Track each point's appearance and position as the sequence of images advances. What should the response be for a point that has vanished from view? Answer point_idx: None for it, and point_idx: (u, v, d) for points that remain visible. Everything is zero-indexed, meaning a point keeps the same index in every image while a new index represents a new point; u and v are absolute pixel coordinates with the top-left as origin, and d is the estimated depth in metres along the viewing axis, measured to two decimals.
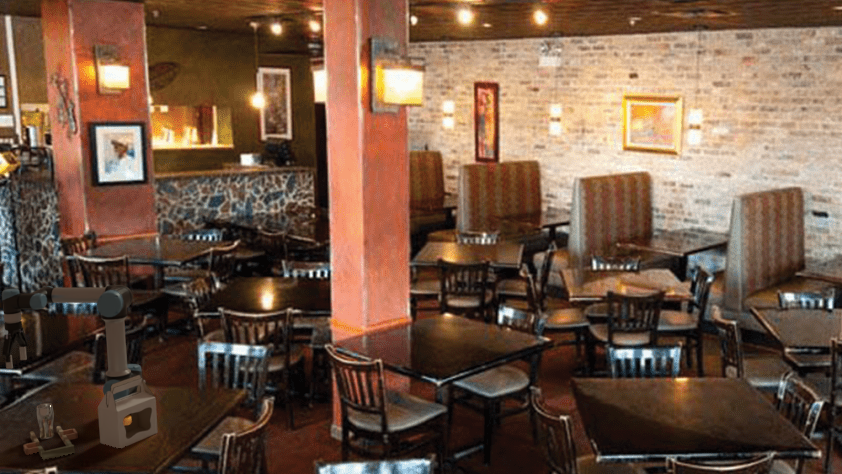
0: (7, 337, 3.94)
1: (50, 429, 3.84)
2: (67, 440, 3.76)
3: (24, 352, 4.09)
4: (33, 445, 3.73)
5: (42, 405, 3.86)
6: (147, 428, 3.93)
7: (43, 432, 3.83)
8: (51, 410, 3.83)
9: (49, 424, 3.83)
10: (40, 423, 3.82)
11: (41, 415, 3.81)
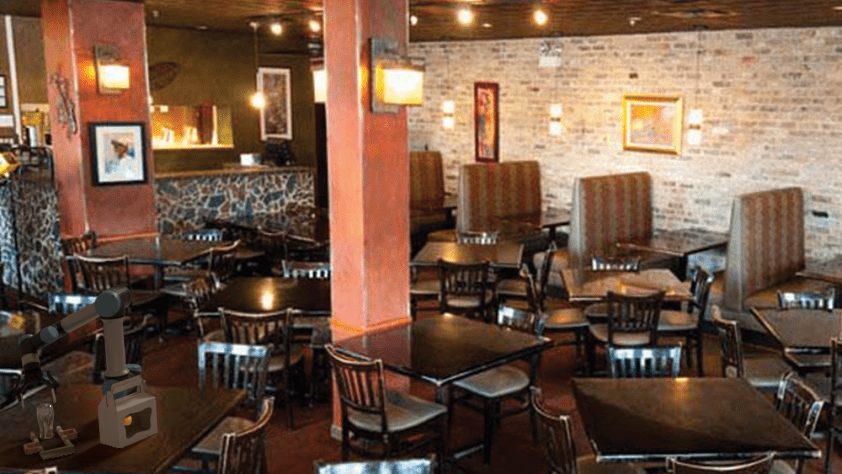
0: None
1: (50, 429, 3.84)
2: (67, 440, 3.76)
3: (53, 393, 3.94)
4: (33, 445, 3.73)
5: (42, 405, 3.86)
6: (147, 428, 3.93)
7: (43, 432, 3.83)
8: (51, 410, 3.83)
9: (49, 424, 3.83)
10: (40, 423, 3.82)
11: (41, 415, 3.81)
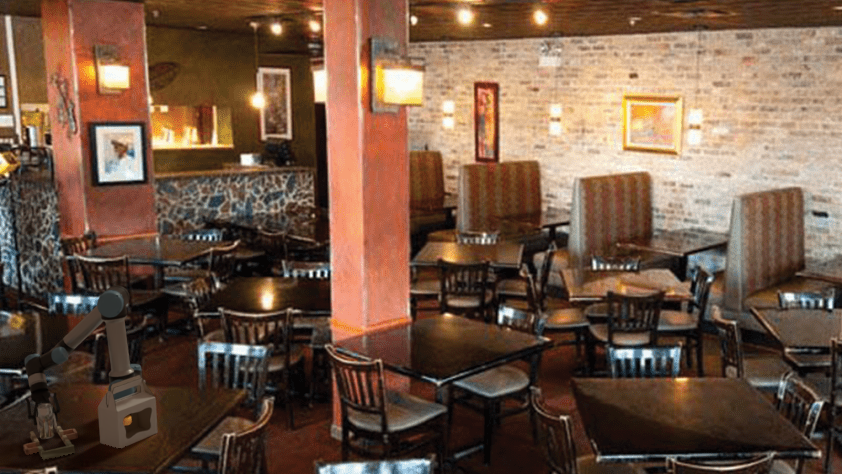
0: (26, 401, 3.86)
1: (50, 429, 3.84)
2: (67, 440, 3.76)
3: (53, 419, 3.85)
4: (33, 445, 3.73)
5: (42, 405, 3.86)
6: (147, 428, 3.93)
7: (43, 432, 3.83)
8: (51, 410, 3.83)
9: (49, 424, 3.83)
10: (40, 423, 3.82)
11: (41, 415, 3.81)
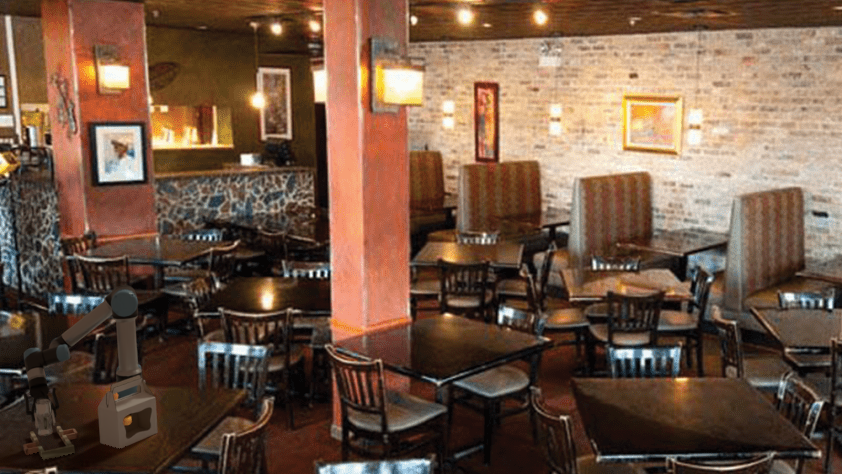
0: (24, 396, 3.77)
1: (48, 425, 3.76)
2: (67, 440, 3.76)
3: (52, 415, 3.76)
4: (33, 445, 3.73)
5: (41, 401, 3.77)
6: (147, 428, 3.93)
7: (41, 428, 3.75)
8: (50, 406, 3.75)
9: (47, 420, 3.75)
10: (38, 419, 3.73)
11: (39, 411, 3.72)
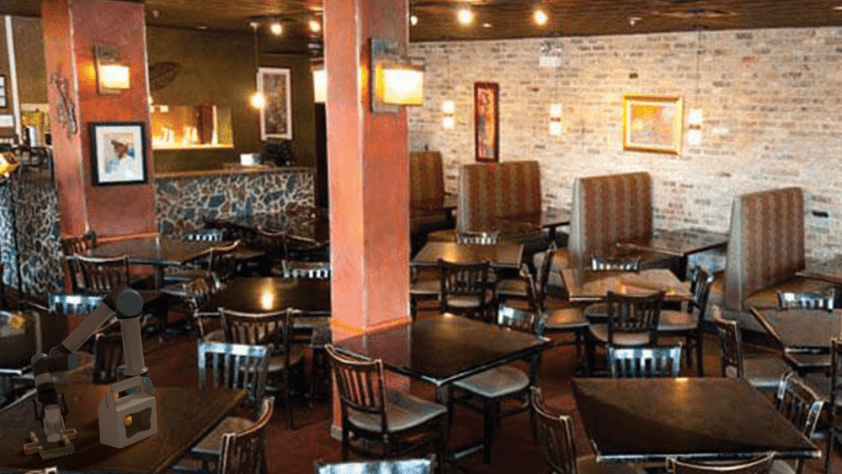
0: (32, 402, 3.69)
1: (58, 432, 3.67)
2: (67, 440, 3.76)
3: (61, 421, 3.68)
4: (33, 445, 3.73)
5: (49, 406, 3.69)
6: (147, 428, 3.93)
7: (50, 434, 3.66)
8: (59, 412, 3.66)
9: (57, 426, 3.66)
10: (47, 425, 3.65)
11: (48, 417, 3.64)
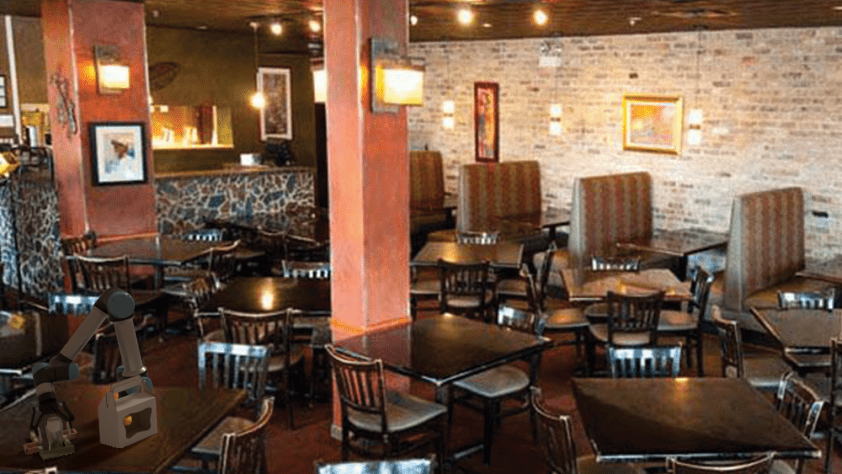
0: (32, 410, 3.70)
1: (59, 443, 3.68)
2: (67, 440, 3.76)
3: (67, 427, 3.71)
4: (33, 445, 3.73)
5: (51, 418, 3.70)
6: (147, 428, 3.93)
7: (52, 446, 3.67)
8: (60, 423, 3.67)
9: (58, 438, 3.67)
10: (49, 437, 3.66)
11: (50, 429, 3.65)
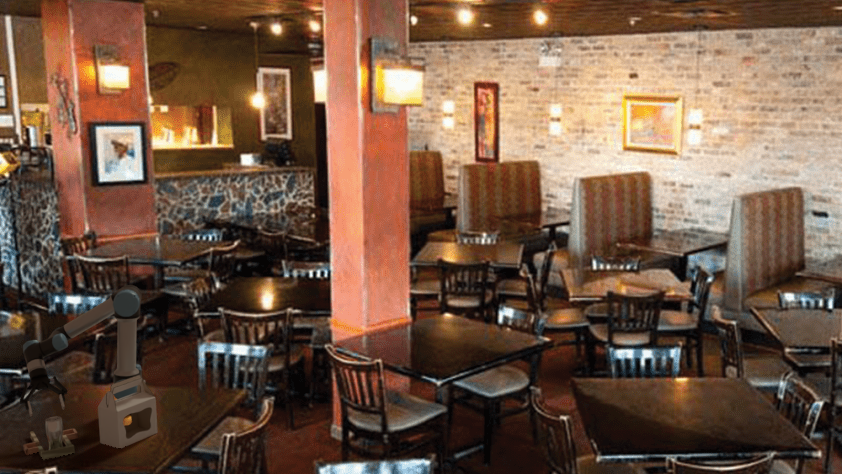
0: (24, 385, 3.81)
1: (59, 443, 3.68)
2: (67, 440, 3.76)
3: (61, 400, 3.83)
4: (33, 445, 3.73)
5: (51, 418, 3.70)
6: (147, 428, 3.93)
7: (52, 446, 3.67)
8: (60, 423, 3.67)
9: (58, 438, 3.67)
10: (49, 437, 3.66)
11: (50, 429, 3.65)
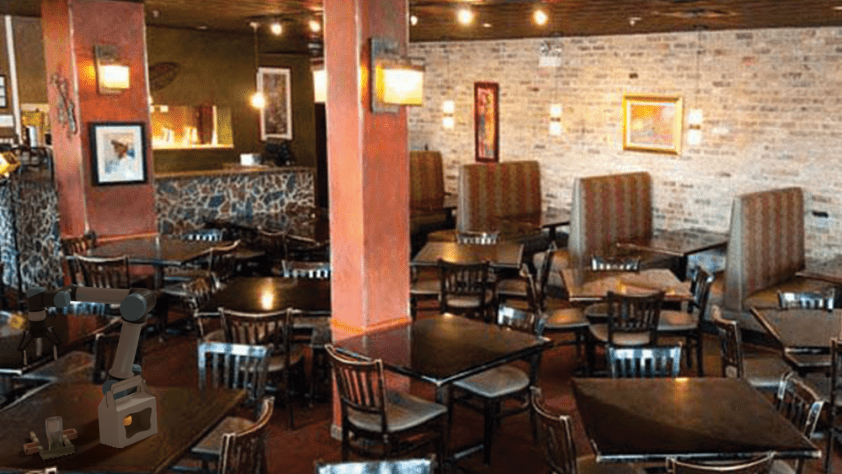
0: (22, 333, 3.98)
1: (59, 443, 3.68)
2: (67, 440, 3.76)
3: (55, 352, 4.06)
4: (33, 445, 3.73)
5: (51, 418, 3.70)
6: (147, 428, 3.93)
7: (52, 446, 3.67)
8: (60, 423, 3.67)
9: (58, 438, 3.67)
10: (49, 437, 3.66)
11: (50, 429, 3.65)
